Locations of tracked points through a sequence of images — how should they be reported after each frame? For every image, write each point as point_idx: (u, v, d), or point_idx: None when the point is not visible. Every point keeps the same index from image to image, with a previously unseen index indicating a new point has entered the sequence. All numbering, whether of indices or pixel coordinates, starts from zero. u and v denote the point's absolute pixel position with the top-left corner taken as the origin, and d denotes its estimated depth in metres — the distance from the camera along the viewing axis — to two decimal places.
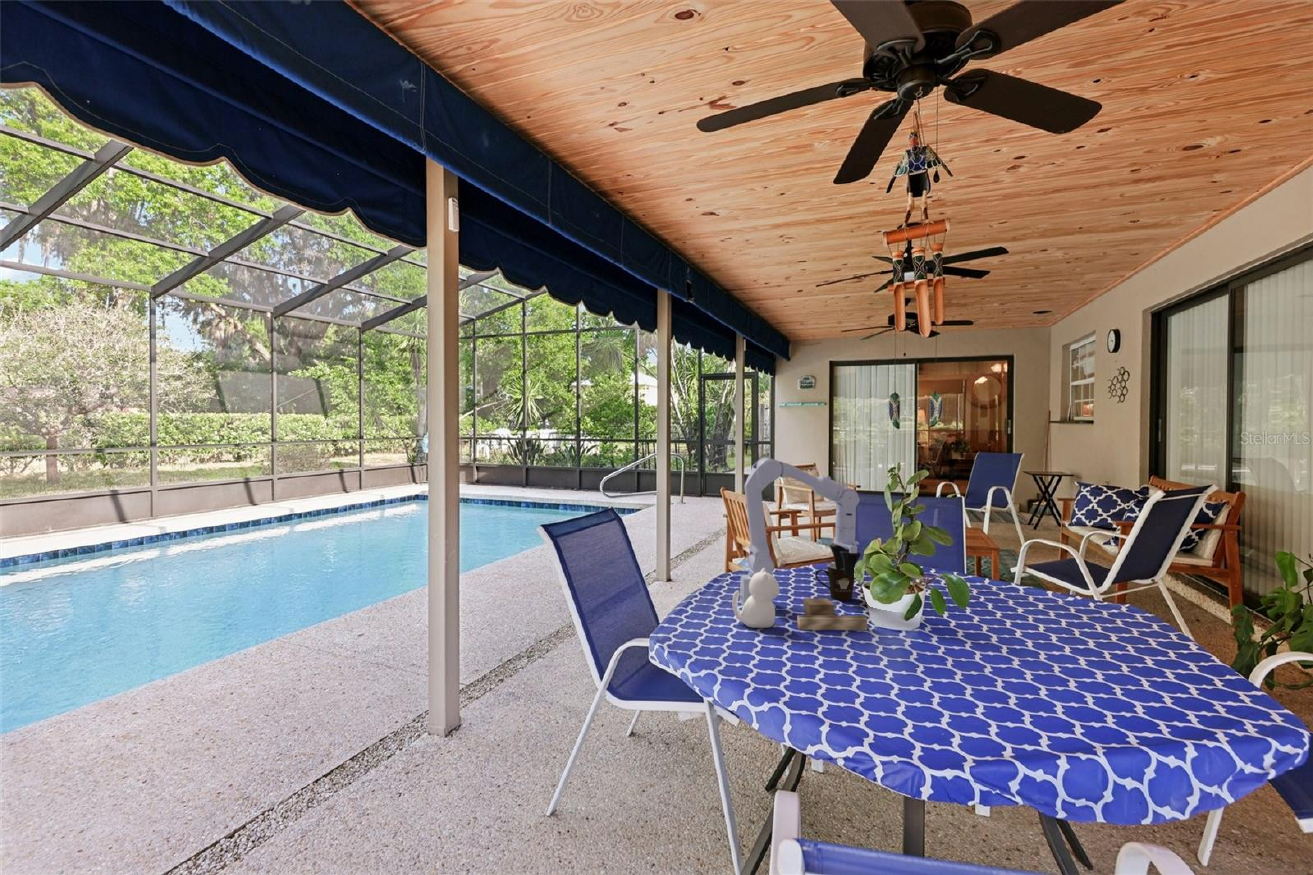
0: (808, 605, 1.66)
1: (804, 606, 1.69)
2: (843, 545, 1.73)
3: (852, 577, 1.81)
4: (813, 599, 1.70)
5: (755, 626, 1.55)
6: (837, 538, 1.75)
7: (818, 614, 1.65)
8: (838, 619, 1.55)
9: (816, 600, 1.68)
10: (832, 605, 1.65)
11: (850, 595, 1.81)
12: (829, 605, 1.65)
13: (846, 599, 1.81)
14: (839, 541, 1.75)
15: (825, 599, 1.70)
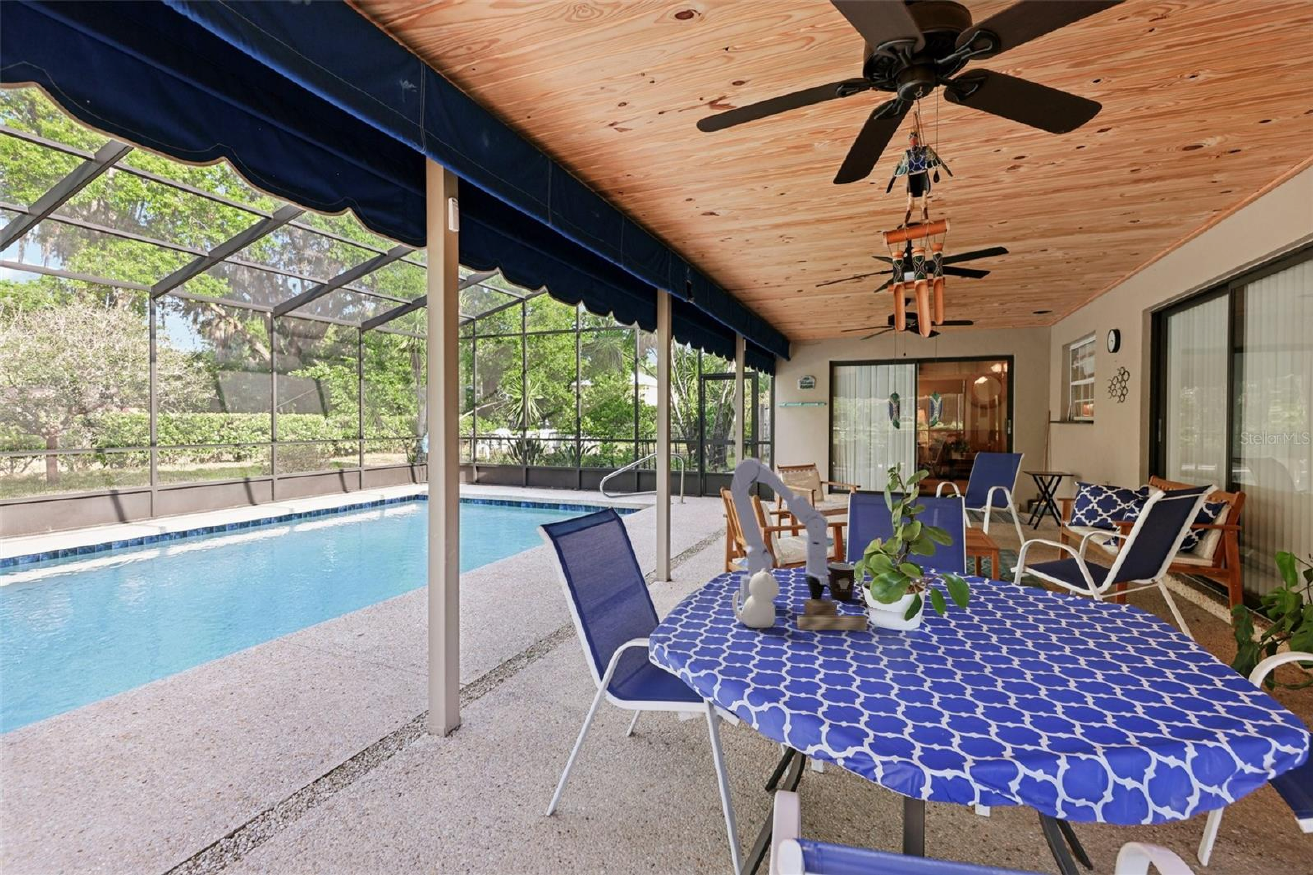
0: (811, 606, 1.64)
1: (806, 608, 1.67)
2: (814, 575, 1.66)
3: (852, 577, 1.81)
4: (814, 599, 1.68)
5: (755, 626, 1.55)
6: (808, 568, 1.69)
7: (821, 615, 1.63)
8: (838, 619, 1.55)
9: (818, 601, 1.67)
10: (834, 605, 1.64)
11: (850, 595, 1.81)
12: (831, 606, 1.63)
13: (846, 599, 1.81)
14: (810, 571, 1.68)
15: (826, 599, 1.68)
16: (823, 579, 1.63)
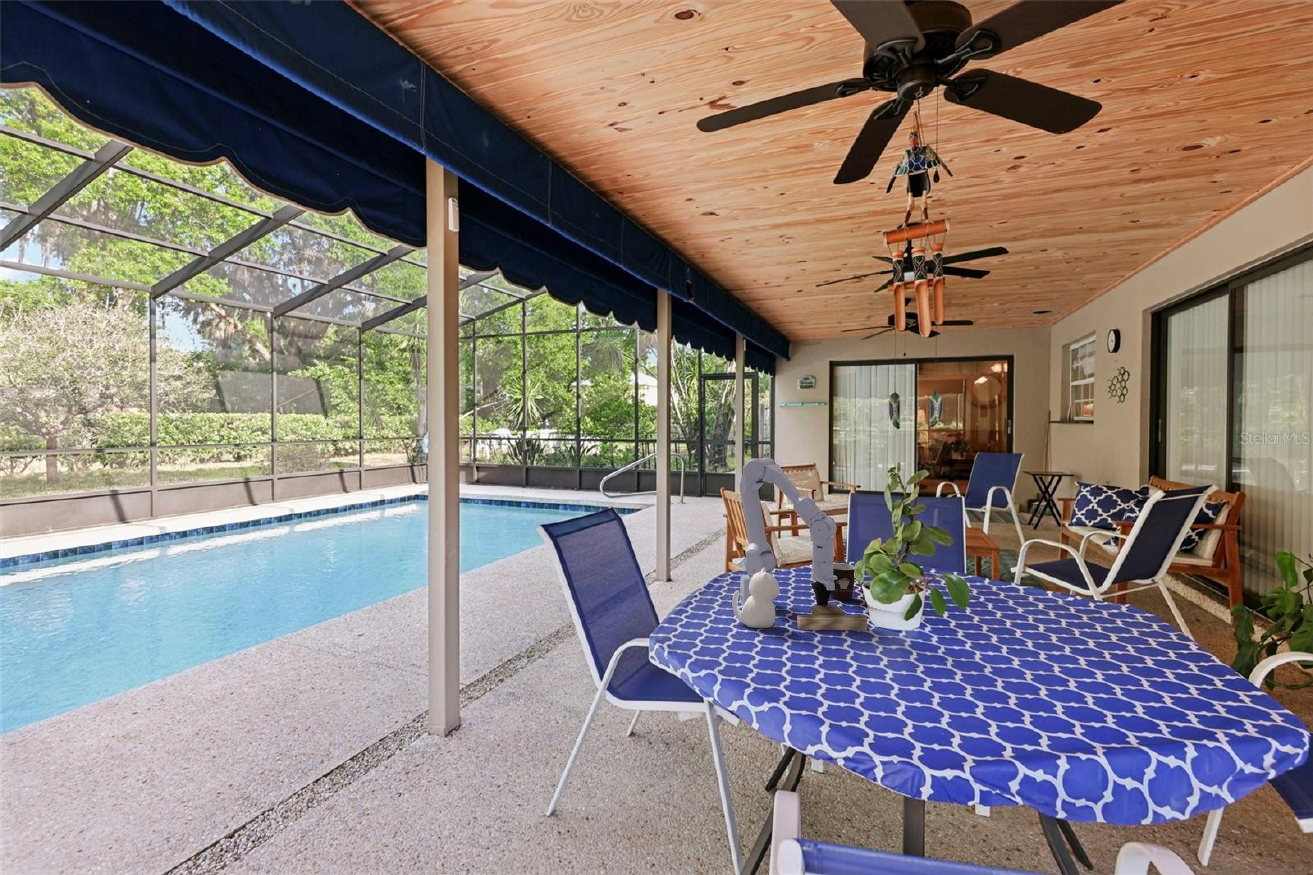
0: (818, 613, 1.59)
1: (813, 614, 1.62)
2: (820, 581, 1.61)
3: (852, 577, 1.81)
4: (822, 606, 1.63)
5: (755, 626, 1.55)
6: (814, 573, 1.63)
7: None
8: (838, 619, 1.55)
9: (826, 607, 1.61)
10: (842, 612, 1.58)
11: (850, 595, 1.81)
12: (839, 613, 1.58)
13: (846, 599, 1.81)
14: (816, 576, 1.63)
15: (834, 606, 1.63)
16: (830, 585, 1.57)
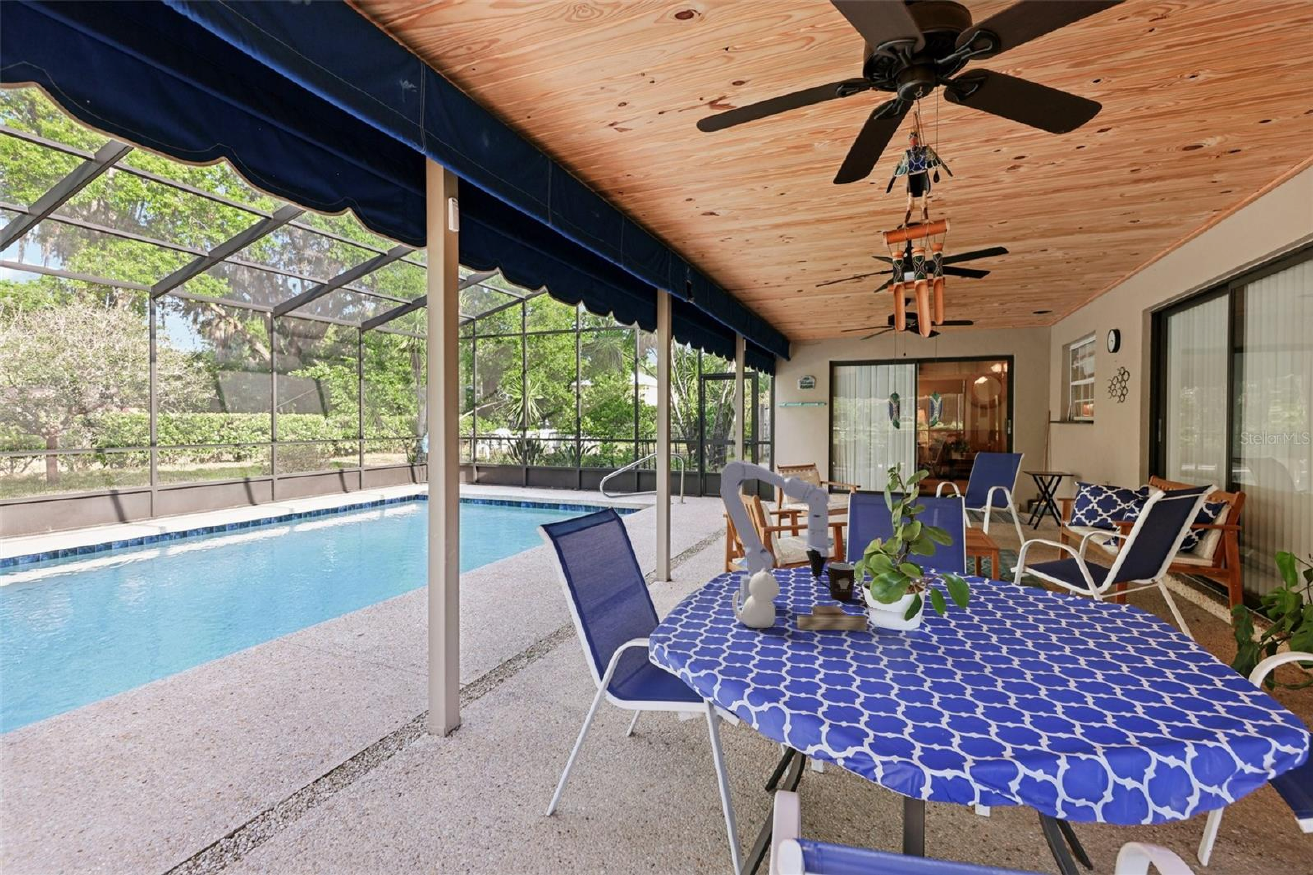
0: (817, 613, 1.59)
1: (814, 614, 1.62)
2: (815, 548, 1.65)
3: (852, 577, 1.81)
4: (823, 606, 1.63)
5: (755, 626, 1.55)
6: (809, 541, 1.68)
7: None
8: (838, 619, 1.55)
9: (826, 608, 1.61)
10: (843, 613, 1.58)
11: (850, 595, 1.81)
12: (839, 613, 1.58)
13: (846, 599, 1.81)
14: (811, 544, 1.68)
15: (835, 607, 1.62)
16: (824, 551, 1.62)
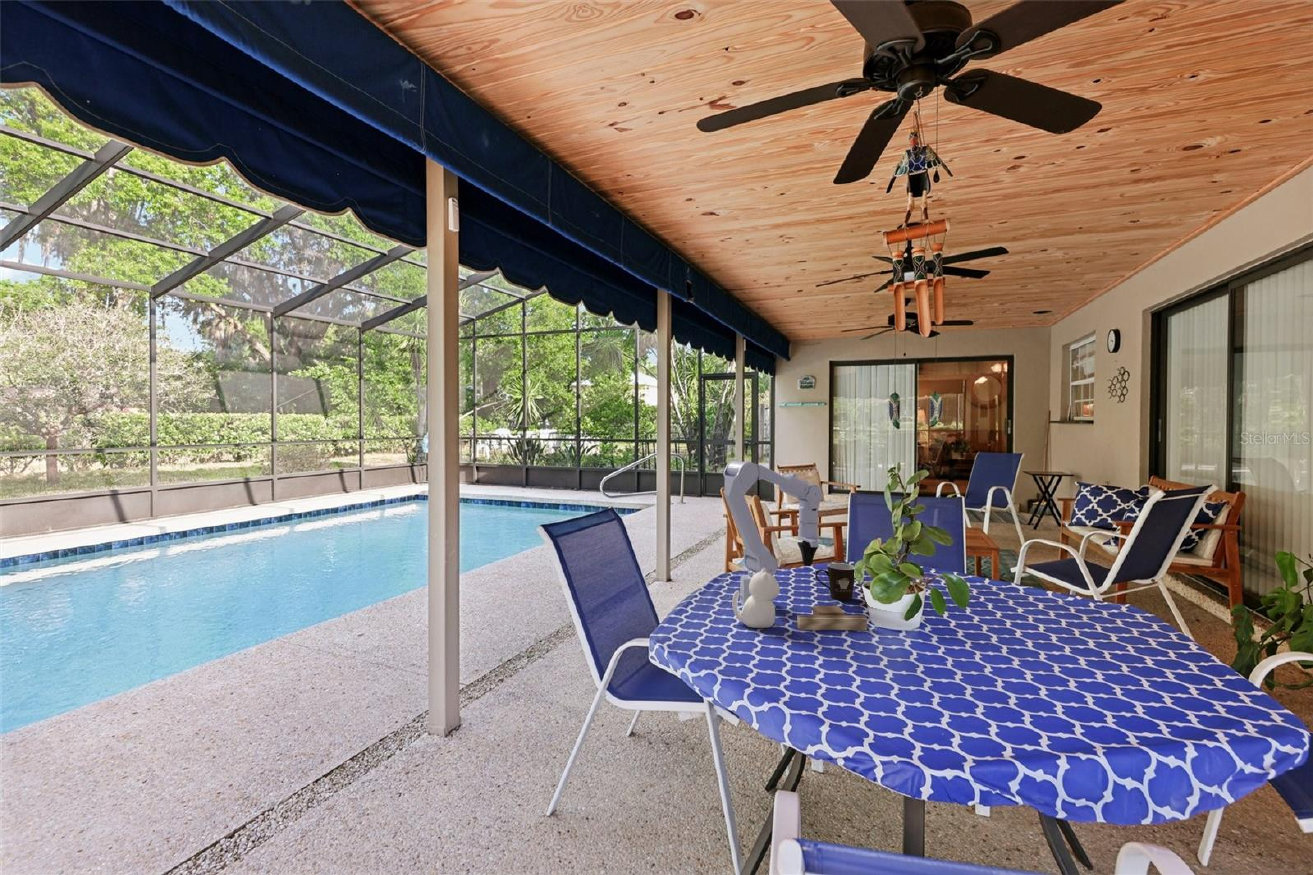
0: (817, 613, 1.59)
1: (814, 614, 1.62)
2: (805, 539, 1.78)
3: (852, 577, 1.81)
4: (823, 606, 1.63)
5: (755, 626, 1.55)
6: (800, 533, 1.81)
7: None
8: (838, 619, 1.55)
9: (826, 608, 1.61)
10: (842, 613, 1.57)
11: (850, 595, 1.81)
12: (839, 614, 1.57)
13: (846, 599, 1.81)
14: (802, 536, 1.80)
15: (836, 607, 1.62)
16: (814, 542, 1.75)
